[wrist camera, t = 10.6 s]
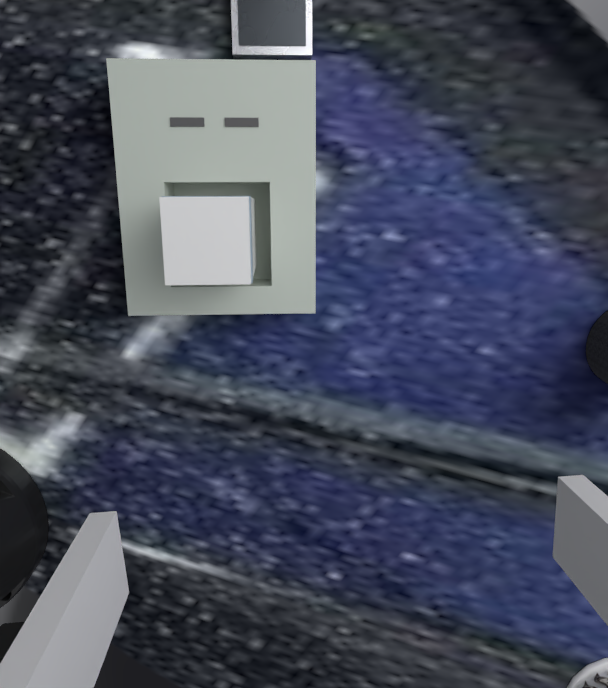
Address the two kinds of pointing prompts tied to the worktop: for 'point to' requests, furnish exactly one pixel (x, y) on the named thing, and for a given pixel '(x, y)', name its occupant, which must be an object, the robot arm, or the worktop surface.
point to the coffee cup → (598, 348)
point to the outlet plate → (217, 173)
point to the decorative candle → (591, 676)
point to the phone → (271, 29)
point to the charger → (208, 239)
